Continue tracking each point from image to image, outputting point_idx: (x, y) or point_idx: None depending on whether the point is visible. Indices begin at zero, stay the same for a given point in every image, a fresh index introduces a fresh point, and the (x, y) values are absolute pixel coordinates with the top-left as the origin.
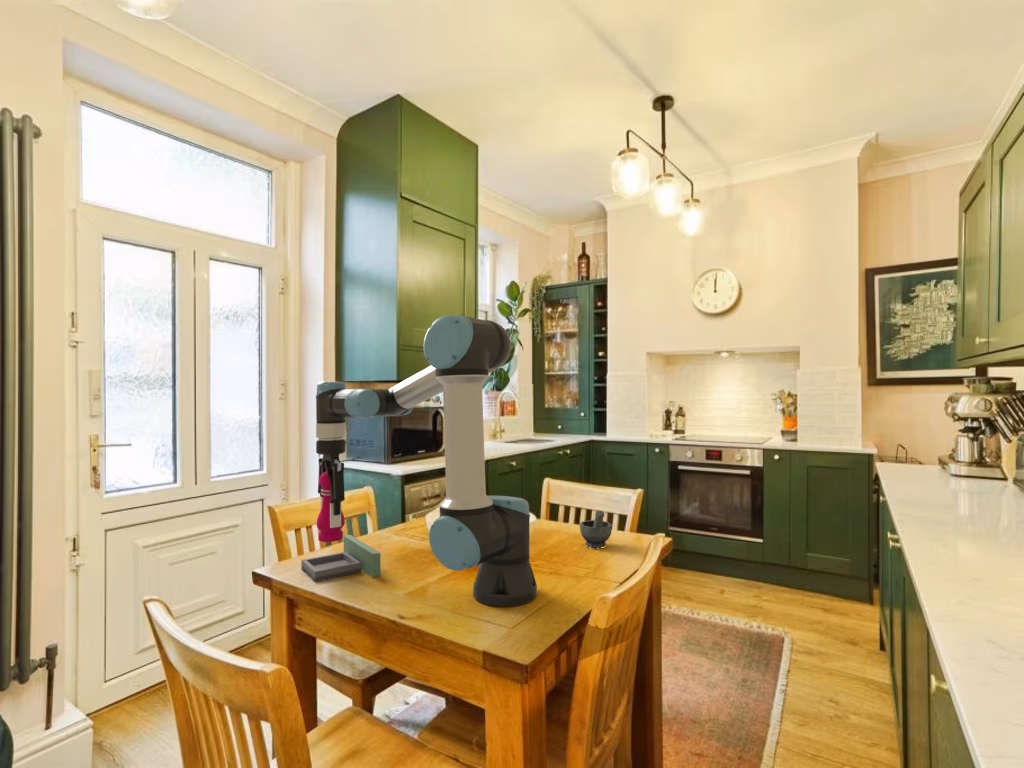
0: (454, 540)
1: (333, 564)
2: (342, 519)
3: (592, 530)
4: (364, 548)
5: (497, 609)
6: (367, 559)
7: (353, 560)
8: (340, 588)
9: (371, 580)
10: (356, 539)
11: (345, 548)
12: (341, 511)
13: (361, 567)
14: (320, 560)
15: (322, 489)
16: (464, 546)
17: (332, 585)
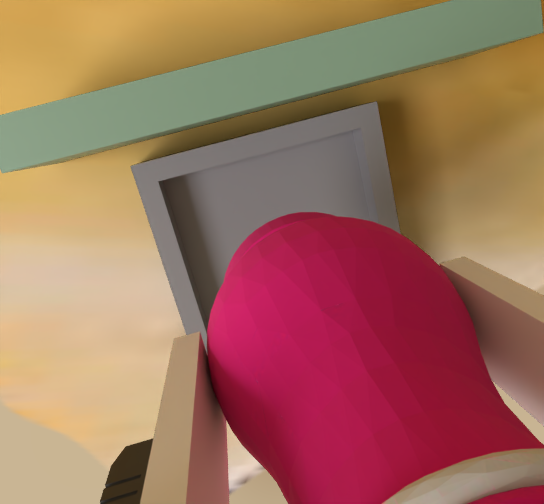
0: None
1: (247, 231)
2: (422, 253)
3: None
4: (396, 67)
5: None
6: (427, 64)
7: (322, 136)
8: (524, 213)
9: (497, 71)
10: (143, 91)
11: (69, 158)
12: (400, 283)
13: (320, 94)
14: (196, 295)
15: None
16: None
17: (474, 242)
